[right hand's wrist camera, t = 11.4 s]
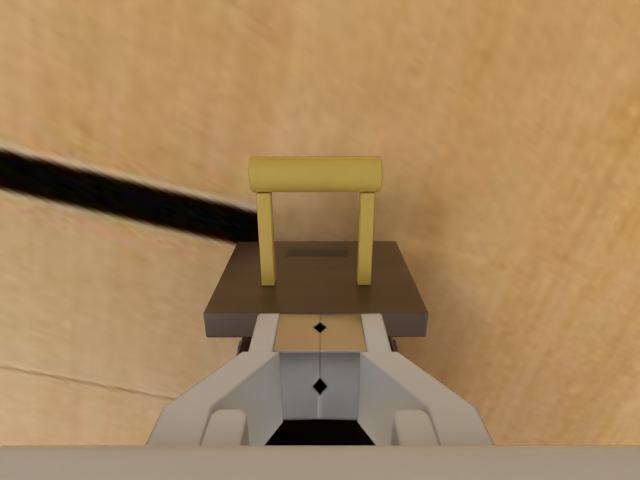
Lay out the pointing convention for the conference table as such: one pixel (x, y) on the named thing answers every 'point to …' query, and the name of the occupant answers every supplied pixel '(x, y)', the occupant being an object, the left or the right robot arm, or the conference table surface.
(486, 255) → the conference table surface
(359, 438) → the drawer
